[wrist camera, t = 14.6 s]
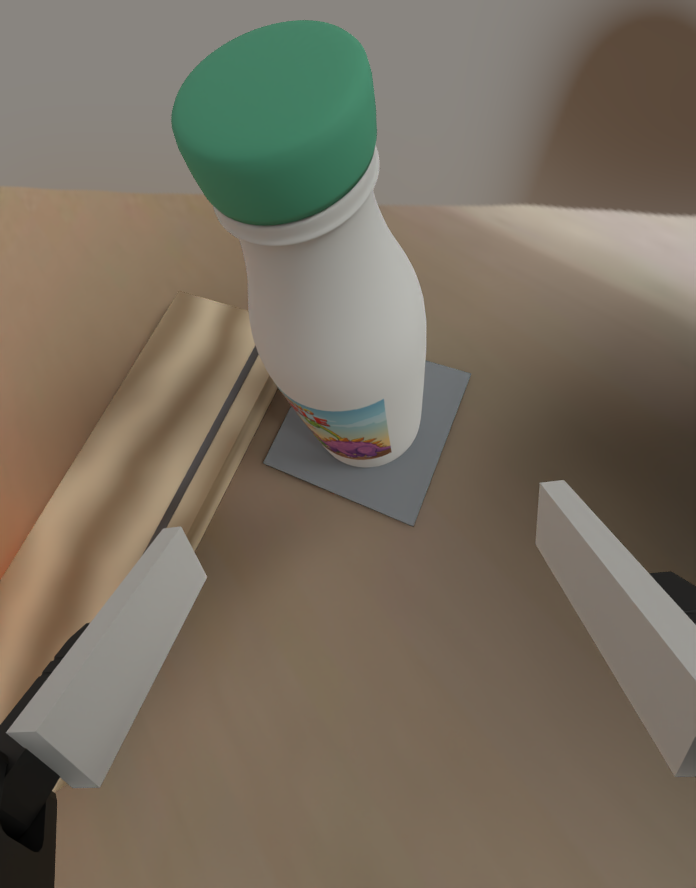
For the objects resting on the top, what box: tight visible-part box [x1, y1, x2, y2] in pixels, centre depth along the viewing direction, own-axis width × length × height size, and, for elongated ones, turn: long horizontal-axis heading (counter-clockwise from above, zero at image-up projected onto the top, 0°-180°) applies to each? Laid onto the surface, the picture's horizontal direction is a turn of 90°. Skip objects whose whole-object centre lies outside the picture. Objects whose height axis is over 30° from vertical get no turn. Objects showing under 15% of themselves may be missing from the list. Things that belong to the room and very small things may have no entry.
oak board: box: [0, 291, 278, 793], centre depth 27 cm, size 12×34×2 cm, turn 156°
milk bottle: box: [171, 20, 426, 468], centre depth 17 cm, size 8×8×20 cm
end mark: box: [263, 360, 471, 526], centre depth 26 cm, size 12×12×1 cm
